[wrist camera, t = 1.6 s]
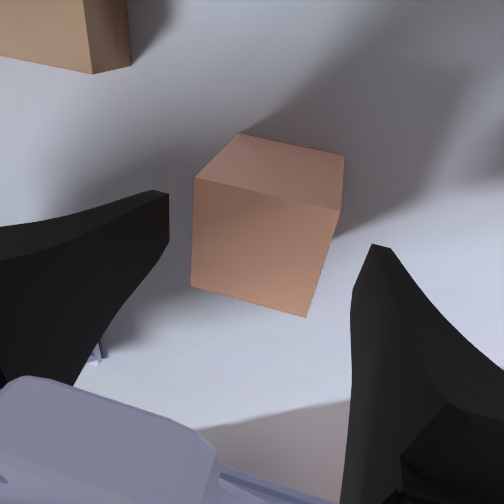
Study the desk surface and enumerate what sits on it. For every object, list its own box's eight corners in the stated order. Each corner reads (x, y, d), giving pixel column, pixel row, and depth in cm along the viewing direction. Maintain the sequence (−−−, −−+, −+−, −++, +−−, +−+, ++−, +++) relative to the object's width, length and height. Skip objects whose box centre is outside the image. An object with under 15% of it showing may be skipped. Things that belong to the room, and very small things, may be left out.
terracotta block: (317, 245, 17) (306, 318, 13) (228, 223, 17) (190, 286, 13) (344, 155, 14) (341, 211, 10) (238, 132, 14) (194, 177, 10)
